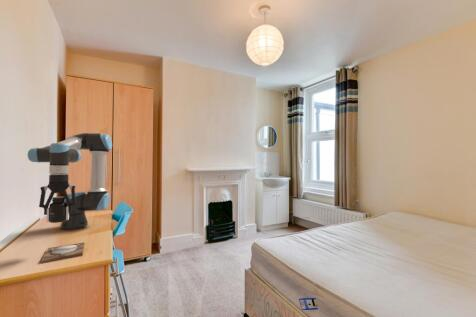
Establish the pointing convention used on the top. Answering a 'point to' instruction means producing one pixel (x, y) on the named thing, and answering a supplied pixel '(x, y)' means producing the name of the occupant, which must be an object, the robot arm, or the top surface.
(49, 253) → the board
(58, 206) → the supplement bottle
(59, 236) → the top surface
